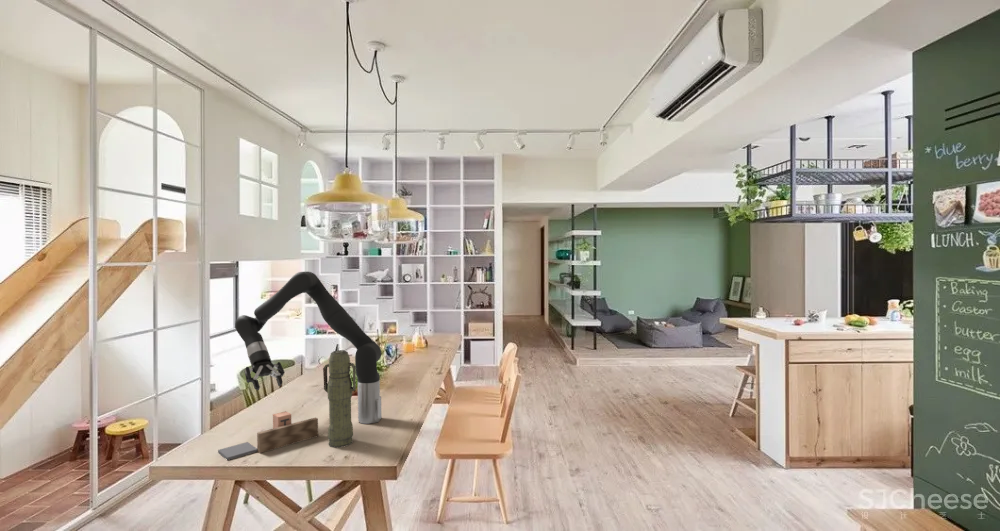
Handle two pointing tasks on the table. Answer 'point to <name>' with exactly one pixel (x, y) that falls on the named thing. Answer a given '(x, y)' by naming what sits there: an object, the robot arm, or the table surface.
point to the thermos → (339, 398)
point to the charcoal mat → (237, 450)
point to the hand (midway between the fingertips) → (269, 387)
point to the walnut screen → (287, 434)
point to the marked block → (281, 419)
